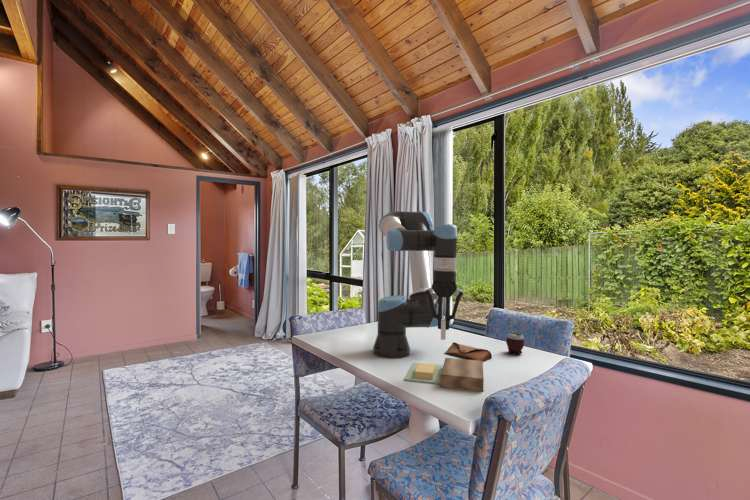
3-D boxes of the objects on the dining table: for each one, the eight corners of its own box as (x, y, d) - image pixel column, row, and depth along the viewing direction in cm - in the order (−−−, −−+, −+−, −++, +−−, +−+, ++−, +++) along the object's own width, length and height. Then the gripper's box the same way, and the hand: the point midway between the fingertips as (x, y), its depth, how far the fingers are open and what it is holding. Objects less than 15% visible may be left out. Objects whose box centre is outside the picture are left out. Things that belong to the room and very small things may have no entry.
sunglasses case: (441, 353, 155) (446, 338, 157) (449, 358, 159) (453, 344, 162) (482, 363, 143) (486, 346, 145) (489, 369, 147) (493, 352, 150)
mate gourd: (502, 351, 159) (503, 316, 159) (519, 350, 161) (520, 315, 161) (513, 356, 152) (513, 319, 152) (530, 355, 154) (530, 319, 154)
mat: (404, 380, 124) (404, 379, 124) (413, 363, 142) (413, 362, 142) (441, 384, 121) (441, 382, 121) (445, 366, 139) (445, 365, 139)
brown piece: (440, 386, 119) (440, 374, 119) (445, 368, 137) (445, 357, 137) (483, 391, 116) (483, 378, 116) (482, 372, 133) (482, 360, 133)
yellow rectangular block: (432, 373, 124) (432, 379, 124) (435, 364, 133) (435, 370, 133) (414, 371, 126) (414, 377, 126) (418, 363, 135) (418, 368, 135)
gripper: (424, 270, 125) (422, 340, 126) (464, 271, 122) (462, 343, 123) (427, 268, 133) (425, 334, 134) (464, 269, 129) (463, 337, 130)
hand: (443, 338), depth 128 cm, fingers closed
